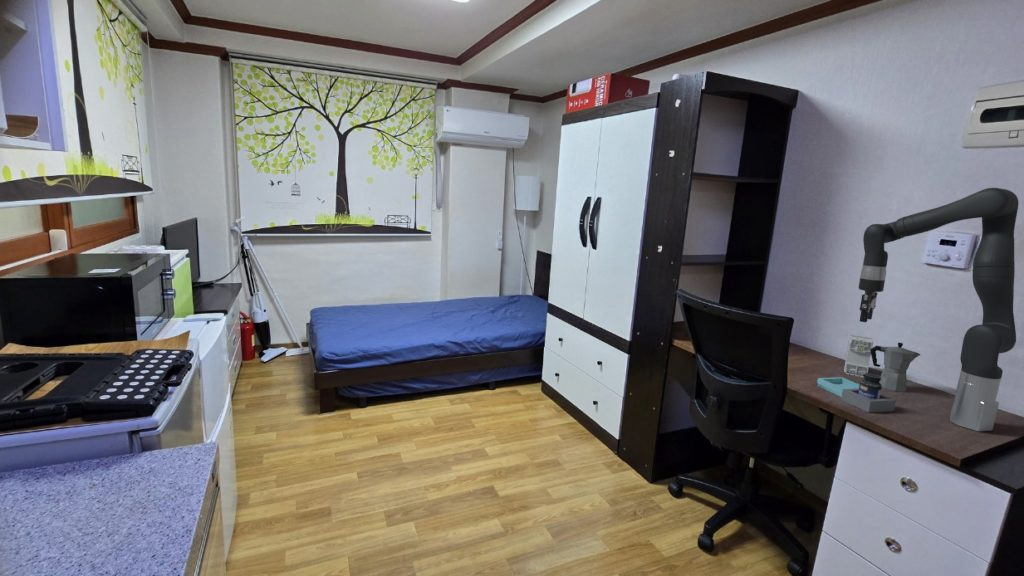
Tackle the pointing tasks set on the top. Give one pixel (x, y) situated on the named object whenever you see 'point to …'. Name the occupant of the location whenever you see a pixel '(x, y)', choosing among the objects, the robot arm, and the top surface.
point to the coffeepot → (894, 366)
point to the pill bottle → (870, 386)
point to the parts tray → (836, 385)
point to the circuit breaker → (858, 355)
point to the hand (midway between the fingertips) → (865, 320)
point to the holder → (868, 401)
